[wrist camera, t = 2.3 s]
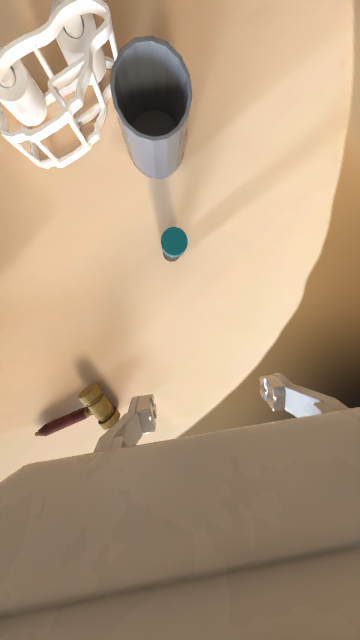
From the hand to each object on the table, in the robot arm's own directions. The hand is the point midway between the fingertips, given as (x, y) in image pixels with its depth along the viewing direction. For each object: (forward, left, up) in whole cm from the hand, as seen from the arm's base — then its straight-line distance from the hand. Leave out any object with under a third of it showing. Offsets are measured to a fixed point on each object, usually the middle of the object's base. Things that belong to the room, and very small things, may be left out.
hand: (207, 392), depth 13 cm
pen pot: (-11, +29, -27) cm, 41 cm away
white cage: (-25, +30, -27) cm, 47 cm away
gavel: (-20, -30, -27) cm, 45 cm away
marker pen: (-4, +12, -27) cm, 30 cm away
